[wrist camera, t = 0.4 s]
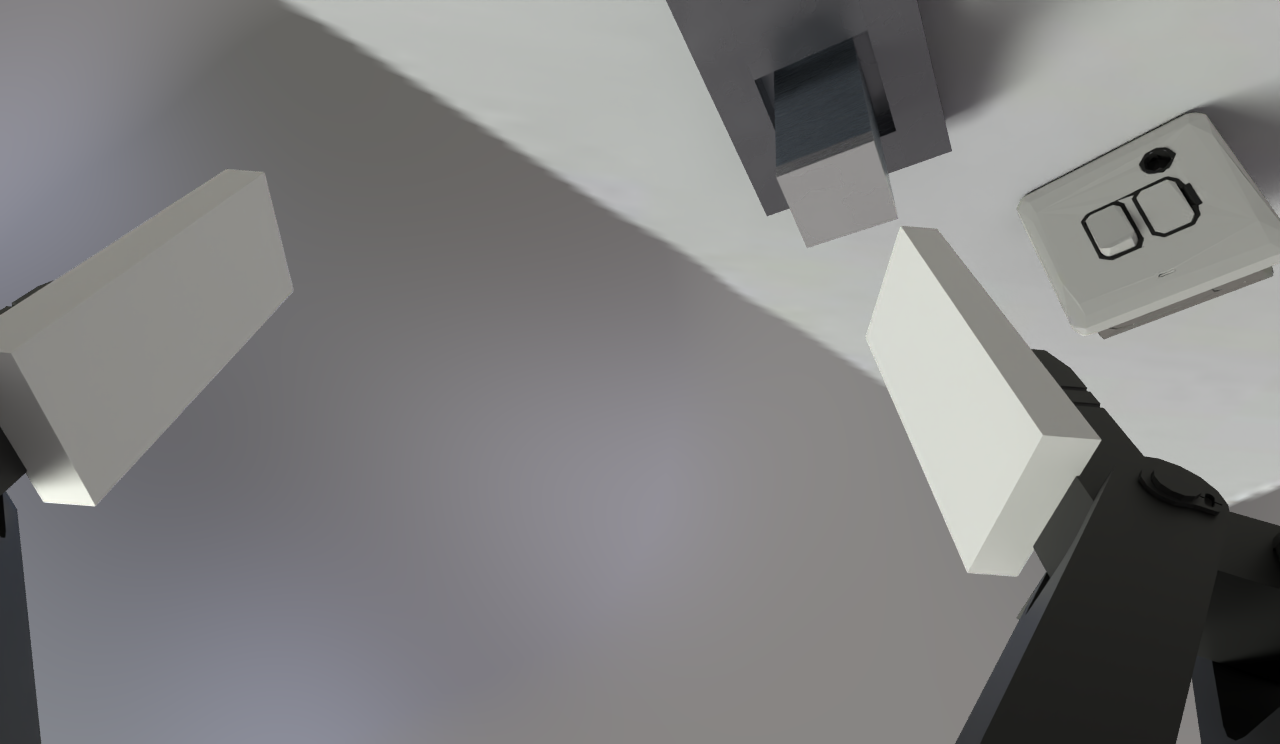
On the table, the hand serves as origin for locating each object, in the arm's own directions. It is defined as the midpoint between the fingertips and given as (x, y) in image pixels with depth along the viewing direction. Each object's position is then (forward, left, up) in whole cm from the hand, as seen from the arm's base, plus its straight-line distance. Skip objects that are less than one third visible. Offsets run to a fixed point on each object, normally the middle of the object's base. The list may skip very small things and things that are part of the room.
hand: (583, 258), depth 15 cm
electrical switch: (-16, +23, -26) cm, 38 cm away
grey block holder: (-3, +5, -25) cm, 26 cm away
